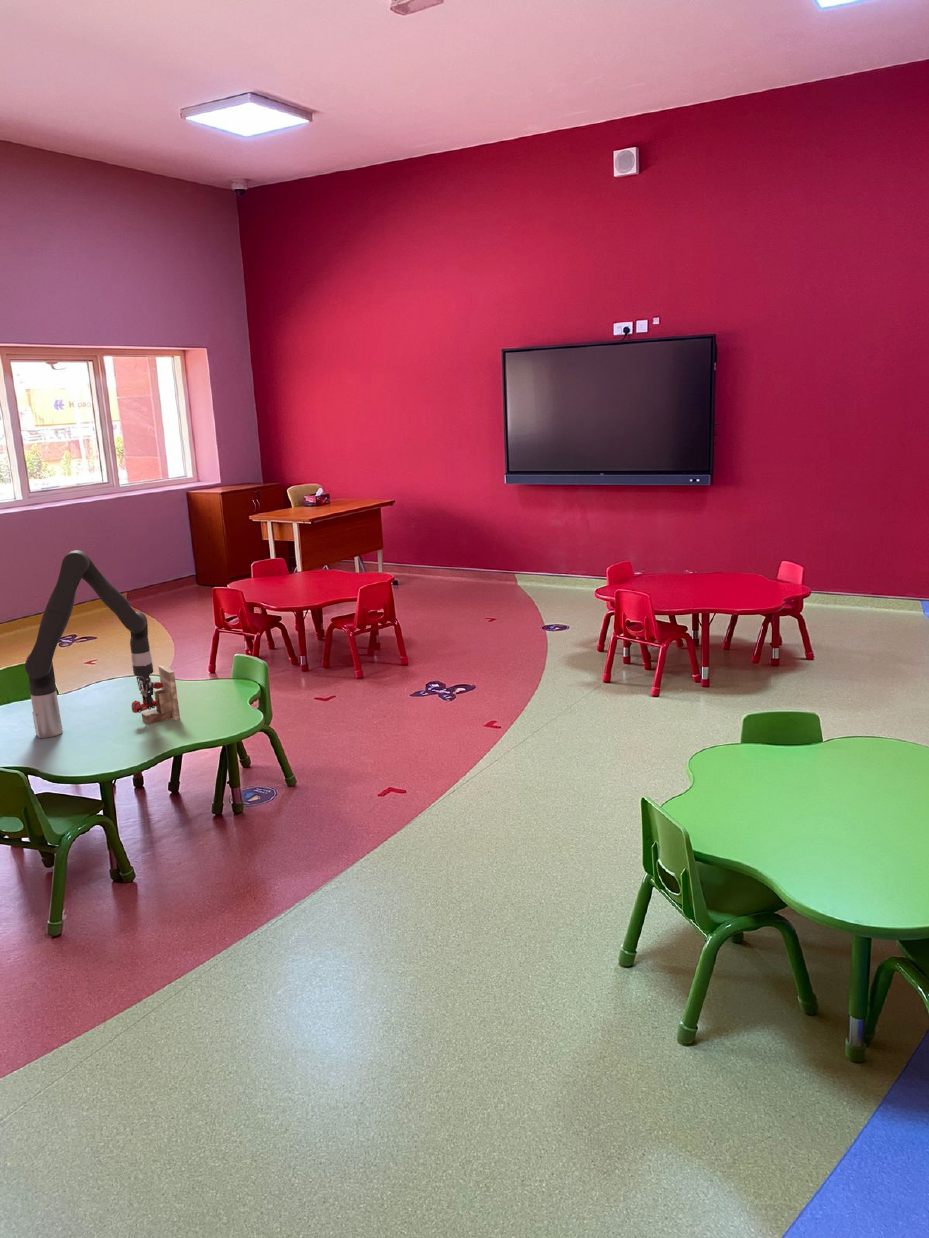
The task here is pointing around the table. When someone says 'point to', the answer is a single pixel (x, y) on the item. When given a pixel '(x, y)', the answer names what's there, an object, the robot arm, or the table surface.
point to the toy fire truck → (141, 707)
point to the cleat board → (164, 699)
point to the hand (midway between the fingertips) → (147, 703)
